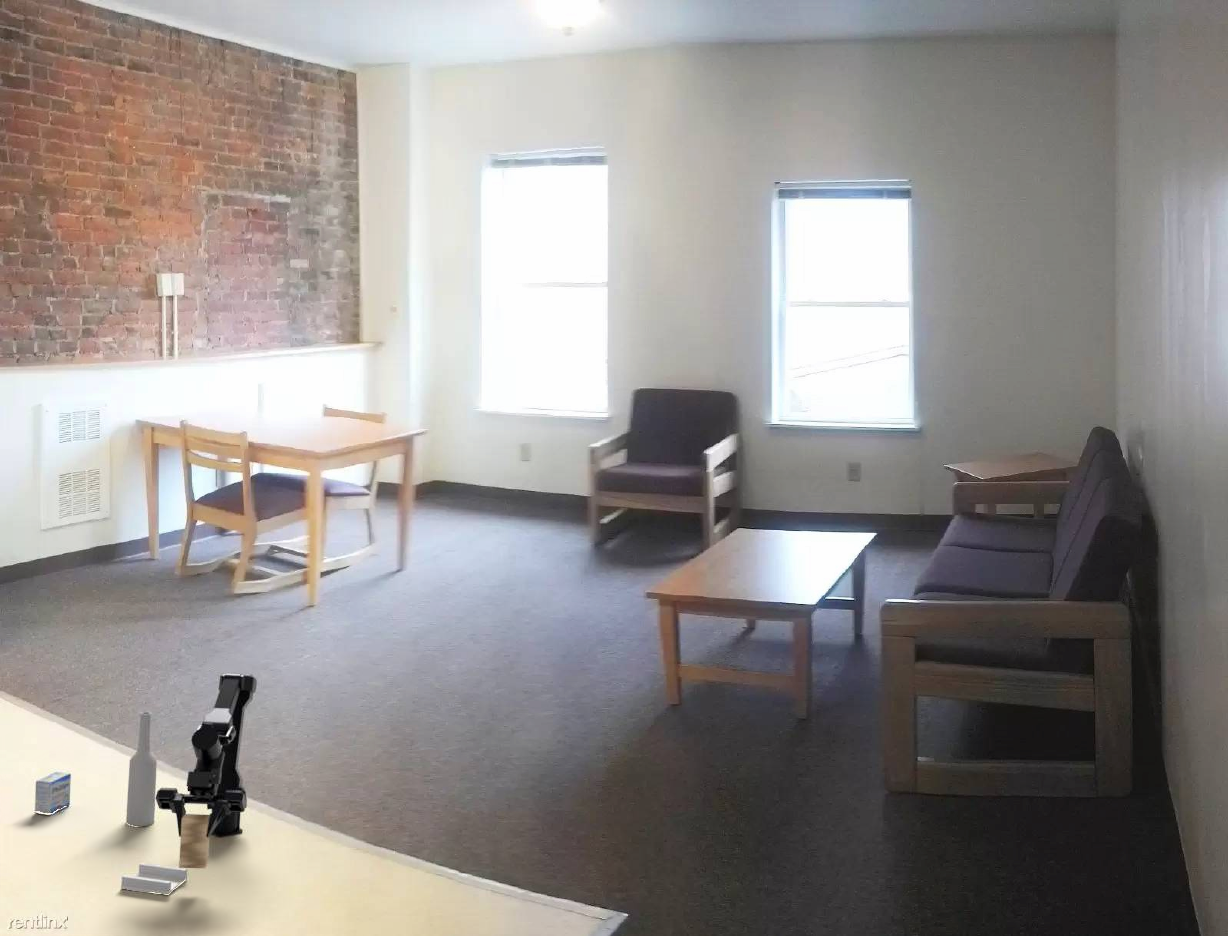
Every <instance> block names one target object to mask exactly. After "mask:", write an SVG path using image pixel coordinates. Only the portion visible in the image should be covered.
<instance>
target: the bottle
mask: <svg viewBox="0 0 1228 936" xmlns="http://www.w3.org/2000/svg"><path fill="white" fill-rule="evenodd" d="M152 714H153V713H152V712H150V711H142V712H140V713H139V717H140V718H139V719H140V720H139V732H138V733H139V734H138V743H137V750H136V752H135V753H134V754H133V755H132V757H131V758H130V759H129V765H128V766H129V768H128V783H127V785H128V786H127V802H126V803H127V804H126V815H125V816H126V819H125V820H126V821H125V822H127V823H128V824H130V825H133V826H145V827H149V826H152V825H153V824H154V823H155V810H156V809H155V808H156V788H157V786H156V785H157V783H156V781H157V765H158V764H157V761H158V760H157V757H156V756H155V755H154V753H153V752H152V751H151V736H150V735H151V716H152ZM153 822H154V823H153ZM152 823H153V824H152ZM148 825H149V826H148Z"/></svg>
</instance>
